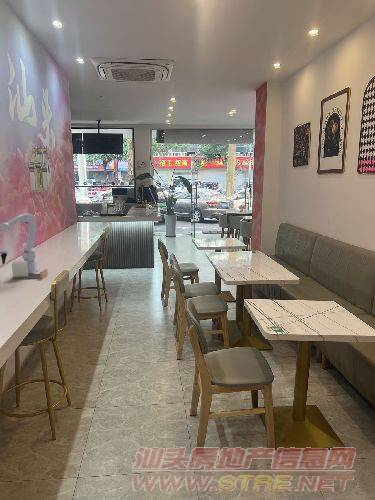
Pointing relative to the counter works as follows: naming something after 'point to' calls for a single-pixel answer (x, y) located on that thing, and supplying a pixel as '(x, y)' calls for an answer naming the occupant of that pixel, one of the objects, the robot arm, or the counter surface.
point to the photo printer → (19, 269)
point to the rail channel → (34, 275)
